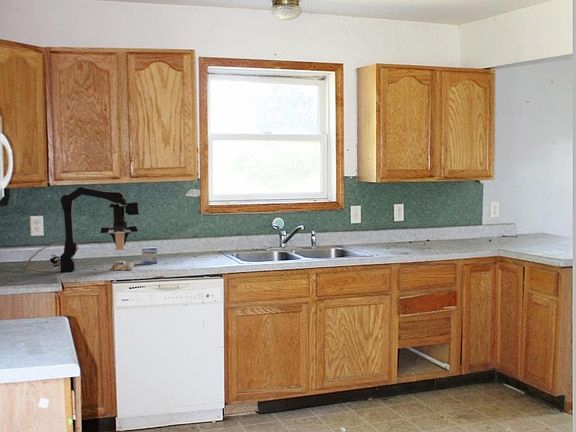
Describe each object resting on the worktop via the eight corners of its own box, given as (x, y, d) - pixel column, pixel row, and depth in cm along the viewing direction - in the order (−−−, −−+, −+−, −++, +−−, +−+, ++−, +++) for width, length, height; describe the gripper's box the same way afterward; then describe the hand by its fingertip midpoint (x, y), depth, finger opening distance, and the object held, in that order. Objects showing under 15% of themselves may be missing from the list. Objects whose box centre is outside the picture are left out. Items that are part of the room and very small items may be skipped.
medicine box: (142, 264, 372) (142, 248, 371) (142, 263, 376) (141, 247, 375) (157, 263, 374) (157, 247, 373) (156, 262, 378) (156, 246, 377)
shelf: (111, 271, 354) (111, 266, 354) (115, 267, 365) (115, 262, 365) (131, 270, 355) (130, 265, 354) (134, 266, 366) (134, 261, 365)
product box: (117, 247, 362) (116, 232, 361) (125, 247, 362) (124, 232, 361) (116, 249, 355) (115, 234, 354) (124, 249, 355) (123, 234, 355)
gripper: (98, 218, 347) (100, 248, 349) (136, 216, 350) (137, 247, 352) (101, 215, 358) (102, 245, 360) (137, 214, 361) (139, 243, 363)
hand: (120, 245), depth 358 cm, fingers closed on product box, 4 cm apart
